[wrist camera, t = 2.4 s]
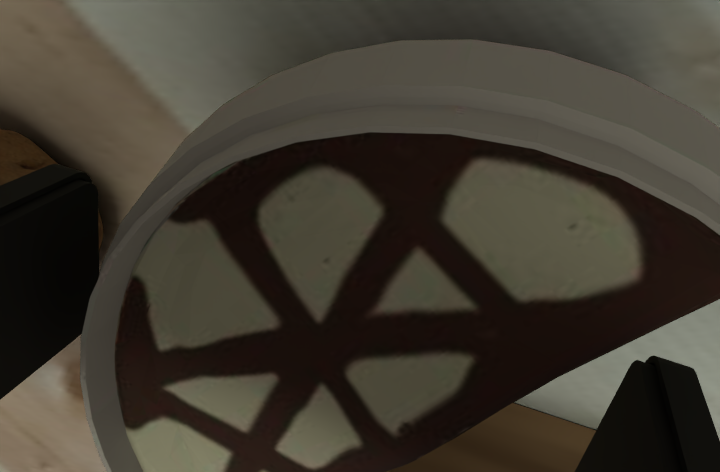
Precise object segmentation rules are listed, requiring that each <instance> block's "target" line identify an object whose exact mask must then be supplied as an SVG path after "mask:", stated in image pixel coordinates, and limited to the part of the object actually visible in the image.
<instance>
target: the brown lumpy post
mask: <svg viewBox="0 0 720 472" xmlns="http://www.w3.org/2000/svg"><path fill="white" fill-rule="evenodd" d="M51 164H57V163H56V162H55V161H54V160H53V159H52V158H51V157H50V156H48V155H47V154H46V153H45V152H44V151H43V150H41V149H40V148H39V147H38V146H37V145H36V144H34V143H33V142H32V141H31V140H30V139H28V138H26V137H25V136H23V135H21V134H19V133H17V132H14V131H11V130H2V129H0V185H3V184H5V183H8V182H10V181H12V180H15V179H17V178H19V177H22V176H24V175H27V174H29V173H31V172H34V171H36V170H39V169H41V168H43V167H46V166H48V165H51ZM98 226H99V250H100V246H101V243H102V239H103V224H102V221H101V217H100V214H99V210H98Z"/></svg>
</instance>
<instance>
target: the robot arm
mask: <svg viewBox="0 0 720 472" xmlns="http://www.w3.org/2000/svg"><path fill="white" fill-rule="evenodd" d="M98 278H99V226H98V190H97V188H96V186H95V185H94V184H92V180H91V178H90V176H89V175H87V174H86V173H84V172H81V171H78V170H75V169H72V168H68V167H65V166H62V165H59V164H51V165H48V166H46V167H43V168H41V169H39V170H36V171H34V172H31V173H29V174H27V175H24V176H22V177H19V178H17V179H15V180H12V181H10V182H8V183H5V184H3V185H0V399H1V398H3V397H4V396H5V395H6V394H8V393H9V392H10V391H11V390H13V389H14V388H15V387H16V386H18V385H19V384H20V383H21V382H23V381H24V380H25V379H26V378H27V377H29V376H30V375H31V374H32V373H34V372H35V371H36V370H37V369H39V368H40V367H41V366H42V365H44V364H45V363H46V362H47V361H49V360H50V359H51V358H52V357H53V356H55V355H56V354H57V353H58V352H60V351H61V350H62V349H63V348H65V347H66V346H67V345H68V344H70V343H71V342H72V341H73V340H75V339H76V338H77V337H78V336H79V335H81V334H82V331H83V326H84V322H85V317H86V313H87V308H88V303H89V299H90V296H91V294H92V292H93V290H94V287H95V285H96V283H97V281H98ZM575 472H720V441H719V438H718V435H717V432H716V429H715V427H714V424H713V421H712V418H711V415H710V412H709V409H708V406H707V403H706V401H705V398H704V395H703V392H702V389H701V386H700V383H699V380H698V377H697V375H696V372H695V371H694V369H693V368H691V367H688V366H685V365H682V364H678V363H675V362H672V361H669V360H666V359H663V358H660V357H657V356H651V357H649V358H648V359H647V360H646V362H641V361H638V360H636V361H634V362H633V363H632V364H631V366H630V368H629V369H628V371H627V373H626V375H625V377H624V379H623V381H622V383H621V385H620V387H619V388H618V390H617V392H616V394H615V396H614V398H613V400H612V402H611V404H610V406H609V407H608V409H607V411H606V413H605V415H604V417H603V419H602V421H601V423H600V424H599V426H598V428H597V430H596V432H595V434H594V436H593V438H592V440H591V442H590V443H589V445H588V447H587V449H586V451H585V453H584V455H583V457H582V459H581V461H580V462H579V464H578V466H577V468H576V470H575Z"/></svg>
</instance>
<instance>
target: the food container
mask: <svg viewBox="0 0 720 472" xmlns="http://www.w3.org/2000/svg"><path fill="white" fill-rule="evenodd" d="M718 299H720V128H718V127H717V126H716V125H715V124H713V123H712V122H711V121H709V120H708V119H707V118H705V117H704V116H703V115H701V114H700V113H699V112H697V111H695V110H693V109H691V108H689V107H687V106H686V105H684V104H682V103H680V102H678V101H676V100H674V99H672V98H670V97H668V96H666V95H664V94H662V93H660V92H658V91H656V90H654V89H652V88H650V87H648V86H646V85H645V84H643V83H641V82H639V81H637V80H635V79H633V78H631V77H629V76H627V75H624V74H621V73H618V72H615V71H612V70H609V69H605V68H602V67H599V66H596V65H593V64H590V63H587V62H584V61H580V60H577V59H574V58H571V57H568V56H565V55H562V54H559V53H555V52H552V51H548V50H541V49H535V48H528V47H521V46H514V45H508V44H501V43H494V42H487V41H481V40H474V39H465V40H399V41H394V42H388V43H383V44H377V45H372V46H366V47H361V48H355V49H350V50H345V51H339V52H334V53H330V54H327V55H325V56H322V57H319V58H316V59H314V60H311V61H308V62H306V63H303V64H300V65H298V66H295V67H292V68H290V69H287V70H284V71H282V72H279V73H276V74H274V75H271V76H270V77H268V78H266V79H265V80H263V81H261V82H260V83H258V84H256V85H255V86H253V87H251V88H250V89H248V90H246V91H245V92H243V93H241V94H240V95H238V96H236V97H235V98H233V99H231V100H230V101H228V102H226V103H225V104H223V105H222V106H221V107H220V108H219V109H218V110H217V111H215V112H214V113H213V114H212V115H211V116H210V117H209V118H208V119H207V120H206V121H204V122H203V123H202V124H201V125H200V126H199V127H198V128H197V129H196V130H194V131H193V132H192V133H191V134H190V135H189V136H188V137H187V138H186V139H184V141H183V142H182V143H181V145H180V146H179V147H178V149H177V150H176V151H175V152H174V154H173V155H172V156H171V158H170V159H169V160H168V161H167V163H166V164H165V165H164V167H163V168H162V169H161V170H160V172H159V173H158V174H157V176H156V177H155V178H154V179H153V181H152V182H151V183H150V185H149V186H148V187H147V189H146V190H145V191H144V193H143V194H142V195H141V197H140V198H139V199H138V201H137V202H136V203H135V205H134V206H133V207H132V209H131V210H130V211H129V213H128V214H127V215H126V217H125V218H124V219H123V221H122V222H121V223H120V225H119V228H118V230H117V232H116V234H115V236H114V238H113V241H112V243H111V245H110V247H109V249H108V252H107V254H106V256H105V258H104V260H103V262H102V265H101V269H100V274H99V278H98V281H97V283H96V285H95V287H94V290H93V292H92V294H91V296H90V299H89V303H88V308H87V313H86V317H85V322H84V326H83V331H82V336H81V359H80V381H81V387H82V393H83V399H84V405H85V411H86V417H87V421H88V424H89V427H90V430H91V433H92V436H93V439H94V442H95V445H96V448H97V450H98V453H99V456H100V459H101V461H102V463H103V465H104V467H105V469H106V471H107V472H387V471H390V470H393V469H395V468H398V467H402V466H404V465H407V464H409V463H411V462H413V461H415V460H417V459H419V458H421V457H422V456H424V455H426V454H428V453H430V452H431V451H433V450H435V449H437V448H438V447H440V446H442V445H444V444H446V443H447V442H449V441H451V440H453V439H455V438H456V437H458V436H460V435H461V434H463V433H464V432H466V431H468V430H469V429H471V428H473V427H474V426H476V425H477V424H479V423H481V422H482V421H484V420H485V419H487V418H489V417H490V416H492V415H494V414H495V413H497V412H498V411H500V410H502V409H503V408H505V407H507V406H508V405H510V404H512V403H514V402H515V401H517V400H519V399H521V398H522V397H524V396H526V395H527V394H529V393H531V392H533V391H534V390H536V389H538V388H540V387H541V386H543V385H545V384H547V383H548V382H550V381H552V380H554V379H555V378H557V377H559V376H561V375H563V374H565V373H567V372H569V371H571V370H573V369H575V368H577V367H579V366H582V365H584V364H586V363H588V362H590V361H592V360H594V359H596V358H598V357H600V356H602V355H604V354H606V353H608V352H610V351H612V350H614V349H616V348H618V347H621V346H623V345H625V344H627V343H629V342H631V341H633V340H635V339H637V338H639V337H641V336H643V335H645V334H647V333H649V332H651V331H653V330H655V329H658V328H660V327H662V326H664V325H666V324H668V323H670V322H672V321H674V320H676V319H678V318H680V317H683V316H685V315H687V314H689V313H691V312H693V311H695V310H697V309H699V308H702V307H704V306H706V305H708V304H710V303H712V302H714V301H716V300H718Z"/></svg>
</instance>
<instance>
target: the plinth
mask: <svg viewBox="0 0 720 472" xmlns="http://www.w3.org/2000/svg"><path fill="white" fill-rule="evenodd" d="M595 432H596V430H593V429H590V428H587V427H584V426H581V425H578V424H575V423H572V422H569V421H566V420H563V419H560V418H557V417H554V416H551V415H548V414H545V413H542V412H539V411H536V410H533V409H530V408H527V407H524V406H521V405H518V404H515V403H512V404H510V405H508V406H507V407H505V408H503V409H502V410H500V411H498V412H497V413H495V414H494V415H492V416H490V417H489V418H487V419H485V420H484V421H482V422H481V423H479V424H477V425H476V426H474V427H473V428H471V429H469V430H468V431H466V432H464V433H463V434H461V435H460V436H458V437H456V438H455V439H453V440H451V441H449V442H447V443H446V444H444V445H442V446H440V447H438V448H437V449H435V450H433V451H431V452H430V453H428V454H426V455H424V456H422V457H421V458H419V459H417V460H415V461H413V462H411V463H409V464H407V465H404V466H402V467H398V468H395V469H393V470H390V471H387V472H575V470H576V468H577V466H578V464H579V462H580V461H581V459H582V457H583V455H584V453H585V451H586V449H587V447H588V445H589V443H590V442H591V440H592V438H593V436H594V434H595Z"/></svg>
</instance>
